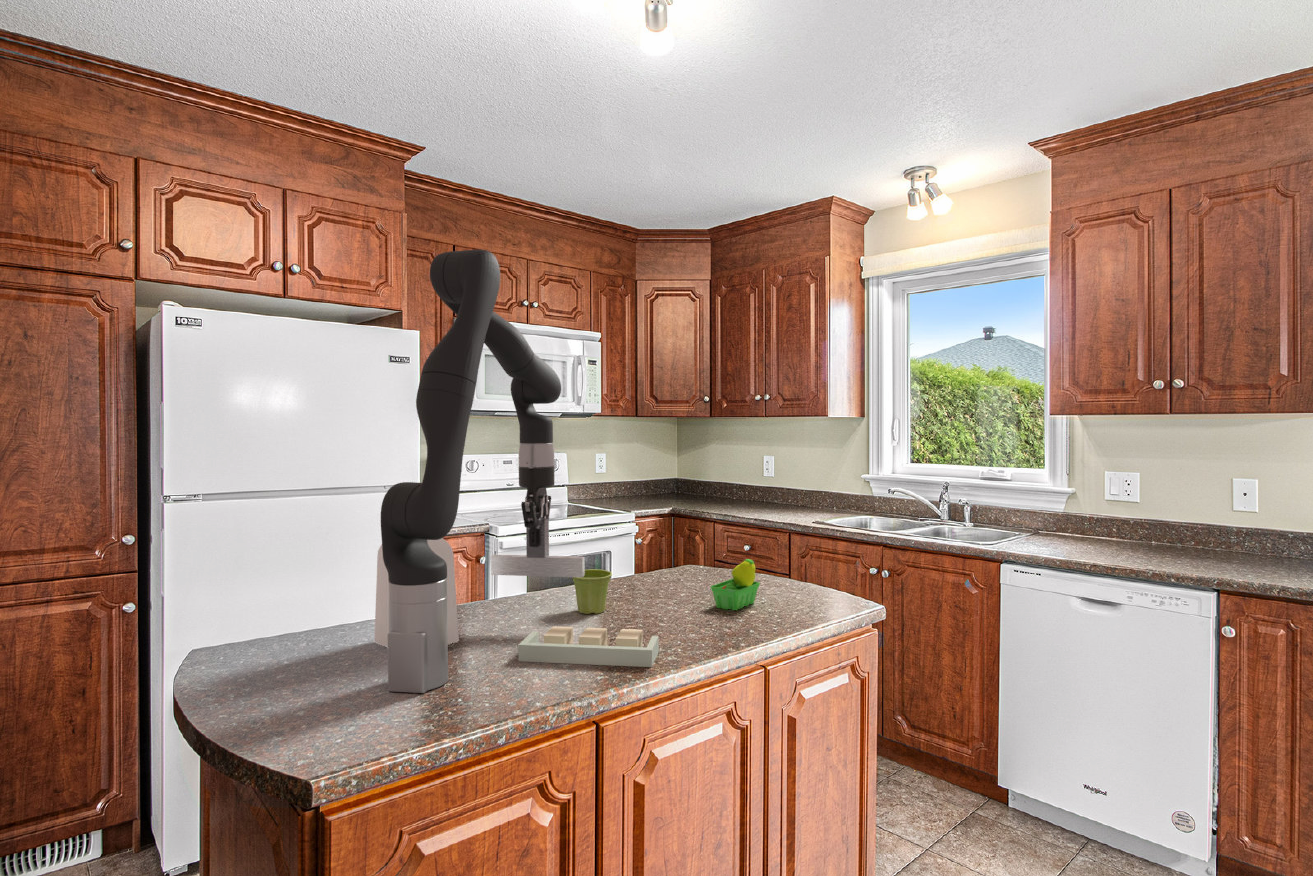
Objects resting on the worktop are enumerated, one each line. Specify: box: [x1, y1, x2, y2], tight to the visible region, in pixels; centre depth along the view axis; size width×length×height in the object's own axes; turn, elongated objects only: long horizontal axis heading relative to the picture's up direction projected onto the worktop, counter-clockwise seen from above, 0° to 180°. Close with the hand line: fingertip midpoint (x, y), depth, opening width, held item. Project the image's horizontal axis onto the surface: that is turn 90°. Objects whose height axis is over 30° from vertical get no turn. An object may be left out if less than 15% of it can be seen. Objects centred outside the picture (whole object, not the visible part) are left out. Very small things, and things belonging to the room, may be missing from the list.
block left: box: [543, 625, 574, 644], centre depth 134 cm, size 6×4×4 cm, turn 172°
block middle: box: [578, 627, 608, 646], centre depth 133 cm, size 6×4×4 cm, turn 171°
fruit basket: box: [710, 558, 761, 611], centre depth 167 cm, size 11×9×11 cm
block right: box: [615, 628, 644, 647], centre depth 132 cm, size 6×4×4 cm, turn 172°
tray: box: [517, 630, 660, 668], centre depth 131 cm, size 8×24×3 cm, turn 82°
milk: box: [373, 537, 460, 649], centre depth 140 cm, size 12×12×26 cm
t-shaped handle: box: [490, 517, 586, 578], centre depth 152 cm, size 3×20×12 cm, turn 82°
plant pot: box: [572, 568, 613, 615], centre depth 163 cm, size 9×9×9 cm
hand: (537, 544), depth 152 cm, fingers closed on t-shaped handle, 3 cm apart
